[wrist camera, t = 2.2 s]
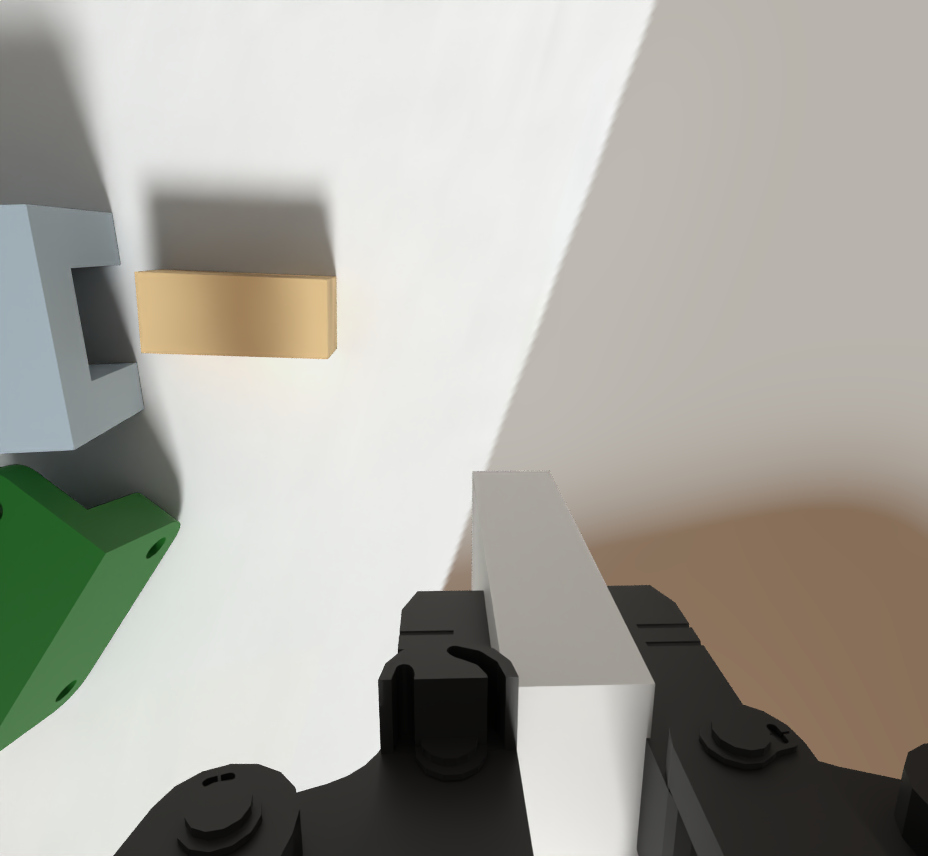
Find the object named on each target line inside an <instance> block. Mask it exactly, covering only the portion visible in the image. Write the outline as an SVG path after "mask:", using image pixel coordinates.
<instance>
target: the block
mask: <svg viewBox="0 0 928 856" xmlns="http://www.w3.org/2000/svg"><path fill="white" fill-rule="evenodd" d="M111 265H120V259H119V253H118V247H117V241H116V235H115V229H114V223H113V217H112V213H107V212H97V211H87V210H78V209H68V208H59V207H49V206H39V205H30V204H13V205H0V454H5V453H25V452H45V451H66V450H75V449H77V448H79V447H80V446H82V445H84V444H86V443H87V442H89V441H91V440H92V439H94V438H96V437H97V436H99V435H101V434H102V433H104V432H106V431H108V430H109V429H111V428H113V427H114V426H116V425H118V424H119V423H121V422H123V421H124V420H126V419H128V418H130V417H131V416H133V415H135V414H136V413H138V412H140V411H141V410H143V409H144V405H143V398H142V392H141V386H140V380H139V374H138V368H137V363H117V364H93V365H88V360H87V354H86V349H85V343H84V338H83V332H82V327H81V322H80V316H79V311H78V305H77V300H76V294H75V289H74V284H73V278H72V273H71V268H80V267H96V266H111Z"/></svg>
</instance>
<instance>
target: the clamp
mask: <svg viewBox="0 0 928 856" xmlns="http://www.w3.org/2000/svg"><path fill="white" fill-rule="evenodd" d="M179 529H180V522H179V521H177V520H176V519H175V518H173V517H172V516H171V515H169V514H168V513H167V512H165V511H164V510H162V509H161V508H160V507H158V506H157V505H156V504H154V503H153V502H152V501H150V500H149V499H148V498H146V497H145V496H144V495H142V494H141V493H133V494H131V495H128V496H125V497H122V498H119V499H116V500H113V501H111V502H108V503H105V504H102V505H99V506H96V507H94V508H91V509H88V510H87V509H86V508H84V507H83V506H82V505H80V504H79V503H78V502H76V501H75V500H74V499H72V498H71V497H70V496H68V495H67V494H66V493H64V492H63V491H62V490H60V489H59V488H58V487H56V486H55V485H54V484H52V483H51V482H50V481H48V480H47V479H46V478H44V477H43V476H42V475H40V474H39V473H38V472H36V471H35V470H33V469H32V468H30V467H27V466H24V465H19V464H13V465H8V466H3V467H0V751H1V750H2V749H4V748H5V747H6V746H8V745H9V744H11V743H12V742H13V741H15V740H16V739H17V738H19V737H20V736H22V735H23V734H24V733H26V732H27V731H28V730H30V729H31V728H33V727H34V726H35V725H37V724H38V723H39V722H41V721H42V720H44V719H45V718H46V717H48V716H49V715H50V714H52V713H53V712H54V711H56V710H57V709H58V708H59V707H60V706H62V705H63V704H64V703H65V702H66V701H67V700H68V699H69V698H70V697H71V696H72V695H73V694H74V693H75V691H76V690H77V689H78V688H79V687H80V686H81V684H82V683H83V682H84V680H85V679H86V678H87V676H88V674H89V673H90V671H91V670H92V668H93V667H94V665H95V663H96V662H97V660H98V659H99V657H100V656H101V654H102V652H103V651H104V649H105V648H106V646H107V644H108V643H109V641H110V640H111V638H112V637H113V635H114V633H115V632H116V630H117V629H118V627H119V626H120V624H121V622H122V621H123V619H124V618H125V616H126V614H127V613H128V611H129V610H130V608H131V607H132V605H133V603H134V602H135V600H136V599H137V597H138V596H139V594H140V592H141V591H142V589H143V588H144V586H145V584H146V583H147V581H148V580H149V578H150V577H151V575H152V573H153V572H154V570H155V569H156V567H157V566H158V564H159V562H160V561H161V559H162V558H163V556H164V554H165V553H166V551H167V550H168V548H169V547H170V545H171V543H172V542H173V540H174V539H175V537H176V535H177V533H178V531H179Z"/></svg>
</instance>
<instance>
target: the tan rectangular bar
mask: <svg viewBox="0 0 928 856" xmlns="http://www.w3.org/2000/svg"><path fill="white" fill-rule="evenodd" d="M135 283H136V295H137V307H138V320H139V332H140V344H141V353H157V354H188V355H218V356H249V357H280V358H310V359H328V358H329V357H330V356H331V355H332V354H333V352H334V351H335V350H336V349H337V302H336V276H313V275H288V274H264V273H240V272H215V271H191V270H167V269H161V270H150V271H139V272H135Z"/></svg>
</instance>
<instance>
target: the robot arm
mask: <svg viewBox="0 0 928 856" xmlns="http://www.w3.org/2000/svg"><path fill="white" fill-rule="evenodd" d="M378 688H379V716H380V744H381V749H380V751H379V752H378V753H377V754H376V755H375V756H374V757H373V758H372V759H371V760H370V761H369V762H368V763H367V764H366V765H365V766H363V767H362V768H360V769H358V770H357V771H355V772H353V773H352V774H350V775H349V776H346V777H344V778H341V779H339V780H336V781H333V782H331V783H328V784H325V785H322V786H318V787H315V788H311V789H308V790H304V791H301V792H297V793H296V789H295V787H294V786H293V785H292V783H291V782H290V781H289V780H288V779H287V778H286V777H285V776H284V775H283V774H282V773H281V772H279V771H276V770H273V769H271V768H268V767H265V766H262V765H259V764H229V765H226V766H222V767H218V768H214V769H211V770H207V771H203V772H201V773H199V774H197V775H195V776H194V777H192V778H190V779H188V780H186V781H184V782H183V783H181V784H179V785H177V786H175V787H174V788H173V789H172V790H171V791H170V792H169V793H167V794H166V795H165V796H164V797H163V798H162V799H161V800H160V801H159V802H158V803H157V804H156V805H155V806H154V807H152V809H151V810H150V811H149V812H148V813H147V815H146V816H145V817H144V818H143V820H142V821H141V822H140V823H139V825H138V826H137V827H136V828H135V830H134V831H133V832H132V833H131V835H130V836H129V837H128V838H127V840H126V841H125V842H124V843H123V844H122V846H121V847H120V848H119V849H118V851H117V852H116V853H115V854H114V856H928V743H927V744H923V745H921V746H919V747H917V748H915V749H914V750H912V751H910V752H908V755H907V759H906V762H905V765H904V770H903V774H902V779H901V780H900V779H895V778H890V777H886V776H881V775H876V774H871V773H866V772H862V771H857V770H852V769H847V768H842V767H838V766H834V765H831V764H827V763H824V762H820V761H818V760H817V759H816V757H815V756H814V754H813V753H812V752H811V750H810V749H809V748H808V746H807V745H806V744H805V742H804V741H803V740H802V739H801V738H800V737H799V736H798V735H796V734H795V732H794V731H793V730H791V729H790V728H789V727H788V726H787V725H786V724H784V723H783V722H781V721H779V720H777V719H776V718H774V717H772V716H771V715H769V714H767V713H765V712H764V711H761V710H758V709H755V708H752V707H749V706H746V705H743V704H742V703H741V701H740V700H739V698H738V697H737V695H736V694H735V692H734V691H733V689H732V688H731V686H730V685H729V683H728V682H727V680H726V679H725V677H724V676H723V674H722V673H721V671H720V670H719V668H718V666H717V665H716V663H715V662H714V661H713V659H712V657H711V656H710V654H709V653H708V651H707V650H706V649H705V647H704V646H703V645H701V643H700V639H699V638H698V636H697V635H696V633H695V632H694V630H693V629H692V628H691V627H690V628H689V623H688V622H687V620H686V619H685V617H684V616H683V614H682V612H681V611H680V610H679V608H678V606H677V605H676V603H675V602H673V601H672V600H671V599H669V598H668V597H666V596H665V595H663V594H662V593H660V592H659V591H657V590H656V589H654V588H653V587H652V586H650V585H639V586H636V585H635V586H606V584H605V582H604V580H603V577H602V575H601V574H600V572H599V569H598V567H597V565H596V563H595V561H594V559H593V557H592V555H591V553H590V551H589V549H588V548H587V545H586V543H585V541H584V539H583V537H582V535H581V533H580V531H579V529H578V527H577V525H576V523H575V521H574V519H573V517H572V515H571V513H570V511H569V509H568V507H567V505H566V503H565V501H564V499H563V497H562V495H561V493H560V491H559V489H558V487H557V485H556V483H555V481H554V479H553V477H552V475H551V473H550V471H472V591H418V592H417V593H416V594H415V595H414V596H413V597H412V599H411V600H410V601H409V602H408V603H407V604H406V606H405V607H404V608H403V609H402V614H401V624H400V636H399V644H398V654H397V655H395V656H394V657H393V658H392V659H391V660H389V661H388V662H387V663H386V664H385V666H384V668H383V671H382V673H381V675H380V677H379V679H378Z"/></svg>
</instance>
